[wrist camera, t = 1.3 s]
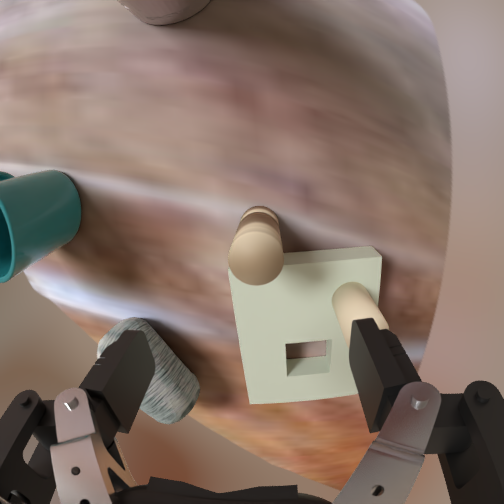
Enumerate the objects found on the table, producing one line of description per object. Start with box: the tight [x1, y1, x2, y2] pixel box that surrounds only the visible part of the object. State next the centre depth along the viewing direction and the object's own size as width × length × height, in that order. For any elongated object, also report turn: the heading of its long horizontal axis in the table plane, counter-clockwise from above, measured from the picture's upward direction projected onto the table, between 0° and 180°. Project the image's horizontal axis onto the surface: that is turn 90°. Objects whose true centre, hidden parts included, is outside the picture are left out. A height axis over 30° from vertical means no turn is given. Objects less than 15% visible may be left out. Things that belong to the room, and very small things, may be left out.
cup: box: [0, 170, 81, 283], centre depth 22 cm, size 9×12×11 cm
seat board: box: [228, 246, 389, 404], centre depth 27 cm, size 18×14×9 cm
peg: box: [228, 206, 284, 286], centre depth 23 cm, size 4×4×9 cm
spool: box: [97, 317, 200, 424], centre depth 30 cm, size 14×10×10 cm
